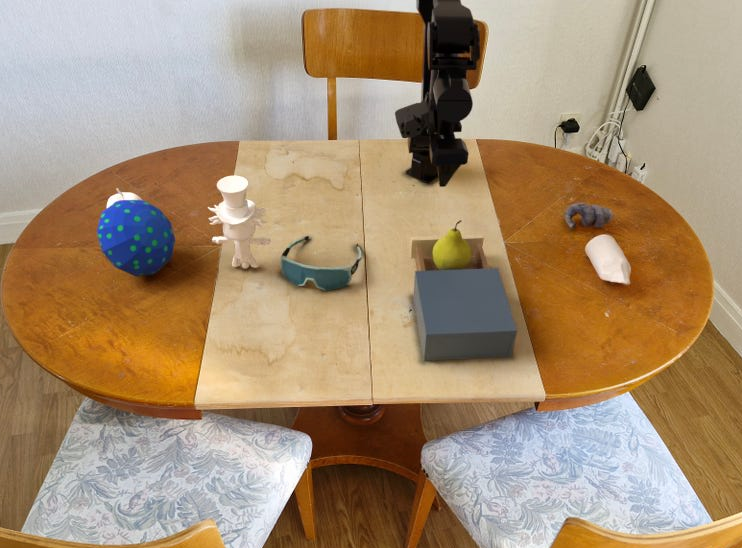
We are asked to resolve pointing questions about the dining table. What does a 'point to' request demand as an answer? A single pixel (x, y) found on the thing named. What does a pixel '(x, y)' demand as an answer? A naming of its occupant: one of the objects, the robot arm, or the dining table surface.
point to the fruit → (452, 251)
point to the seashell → (588, 215)
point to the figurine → (238, 219)
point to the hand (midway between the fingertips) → (438, 172)
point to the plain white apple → (122, 197)
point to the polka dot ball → (136, 237)
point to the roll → (608, 259)
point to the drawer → (424, 251)
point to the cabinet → (463, 314)
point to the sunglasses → (317, 271)
